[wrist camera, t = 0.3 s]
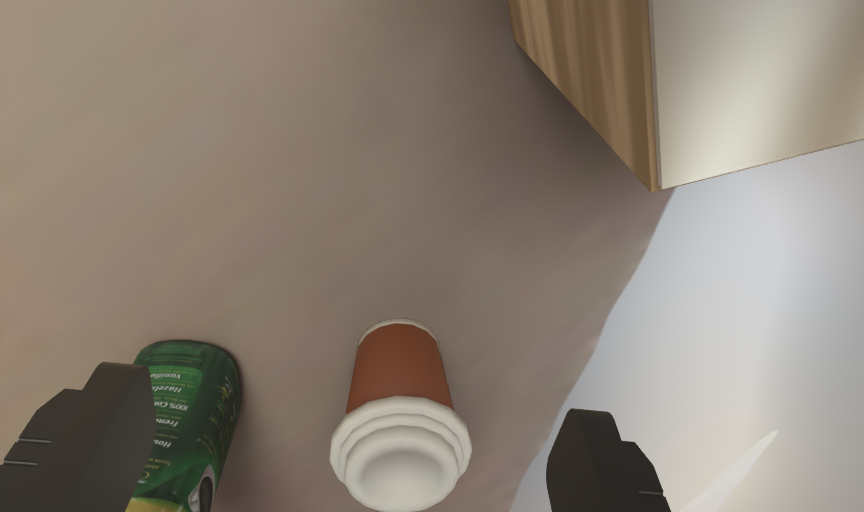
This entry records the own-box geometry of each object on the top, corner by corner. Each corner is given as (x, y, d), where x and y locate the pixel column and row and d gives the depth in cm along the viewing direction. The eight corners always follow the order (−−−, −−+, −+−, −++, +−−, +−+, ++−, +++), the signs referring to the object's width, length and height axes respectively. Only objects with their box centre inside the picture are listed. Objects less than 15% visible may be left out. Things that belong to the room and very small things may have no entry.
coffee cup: (317, 331, 45) (297, 458, 35) (426, 285, 44) (439, 405, 34) (372, 408, 50) (369, 541, 39) (473, 369, 48) (497, 497, 38)
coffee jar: (130, 331, 44) (-13, 576, 28) (241, 337, 45) (163, 578, 29) (145, 424, 49) (30, 678, 33) (244, 428, 50) (179, 676, 34)
